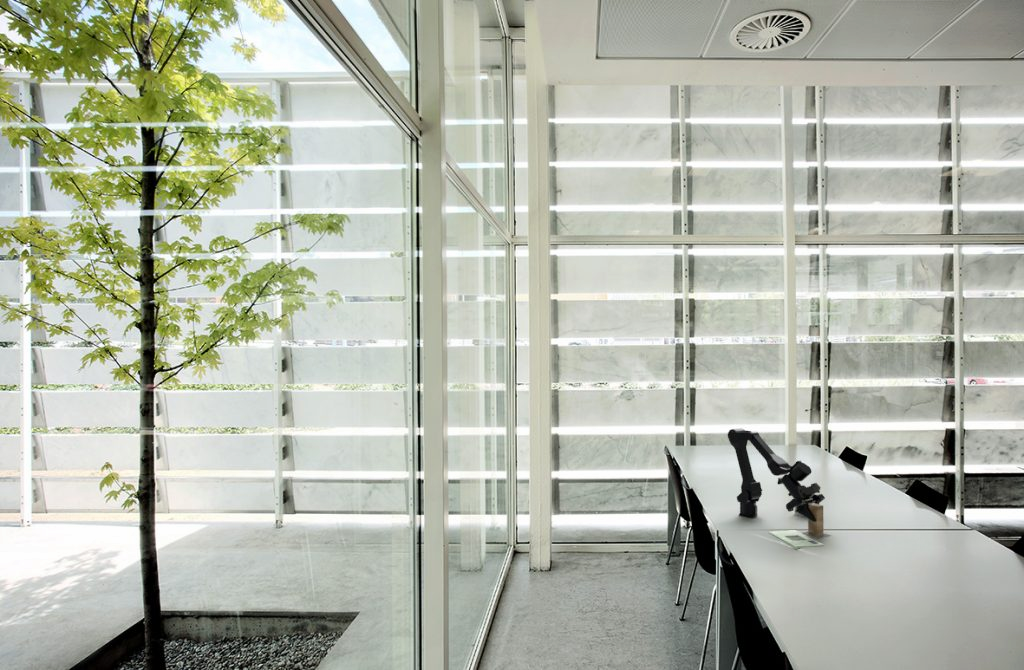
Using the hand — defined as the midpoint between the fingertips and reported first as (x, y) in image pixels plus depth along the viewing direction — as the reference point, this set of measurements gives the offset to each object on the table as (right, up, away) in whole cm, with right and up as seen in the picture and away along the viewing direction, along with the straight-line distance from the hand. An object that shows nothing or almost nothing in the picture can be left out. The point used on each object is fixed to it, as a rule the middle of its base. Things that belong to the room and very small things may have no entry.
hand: (818, 520), depth 246 cm
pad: (-1, -7, +1) cm, 7 cm away
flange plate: (-12, -7, -4) cm, 14 cm away
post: (-1, -6, +1) cm, 6 cm away
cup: (+9, -7, +30) cm, 32 cm away
